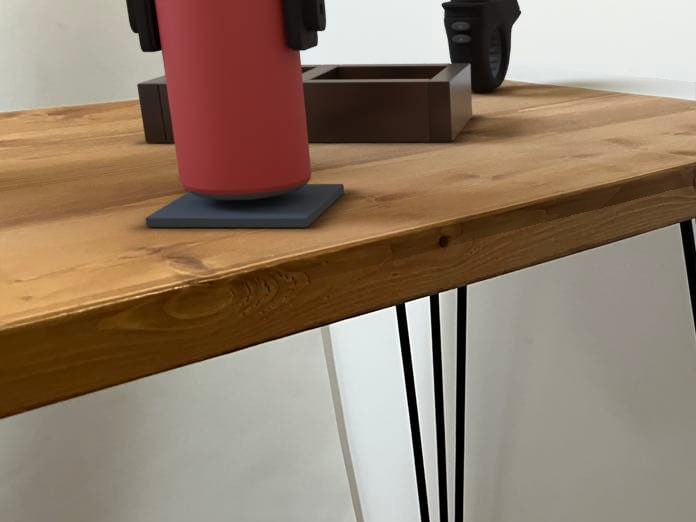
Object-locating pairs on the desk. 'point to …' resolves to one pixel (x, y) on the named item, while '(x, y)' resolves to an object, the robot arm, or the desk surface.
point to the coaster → (249, 210)
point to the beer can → (234, 98)
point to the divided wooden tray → (357, 103)
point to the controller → (481, 38)
